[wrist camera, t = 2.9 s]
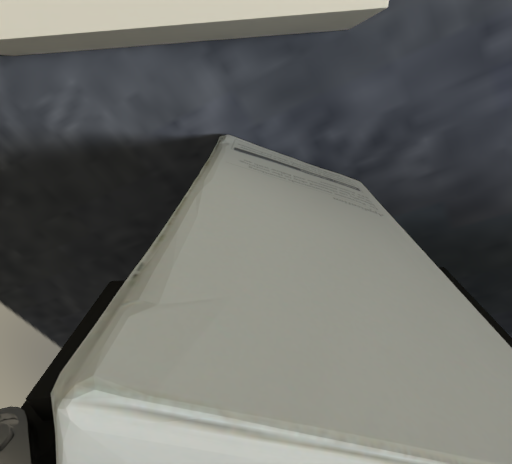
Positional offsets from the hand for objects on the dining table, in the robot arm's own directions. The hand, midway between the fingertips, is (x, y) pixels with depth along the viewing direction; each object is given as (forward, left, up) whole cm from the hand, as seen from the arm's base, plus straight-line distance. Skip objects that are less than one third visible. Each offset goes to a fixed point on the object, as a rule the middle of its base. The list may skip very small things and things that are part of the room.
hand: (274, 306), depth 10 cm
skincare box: (+1, +1, -4) cm, 5 cm away
